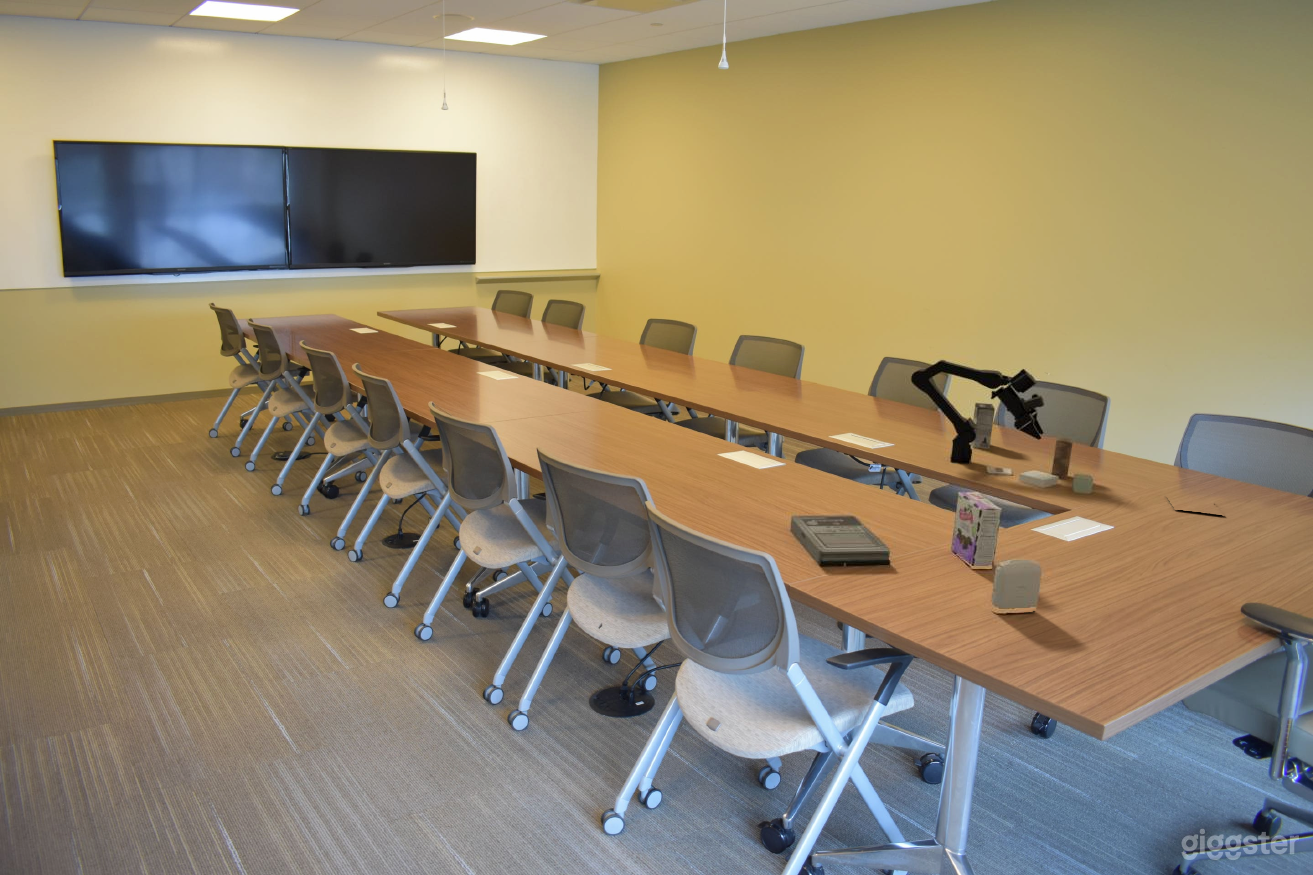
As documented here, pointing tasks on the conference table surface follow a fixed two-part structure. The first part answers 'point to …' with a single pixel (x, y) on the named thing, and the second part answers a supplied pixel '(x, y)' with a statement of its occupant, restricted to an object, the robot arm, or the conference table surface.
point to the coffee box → (983, 424)
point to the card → (999, 470)
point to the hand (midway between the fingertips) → (1041, 436)
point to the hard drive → (839, 541)
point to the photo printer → (1016, 584)
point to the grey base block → (1038, 478)
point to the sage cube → (1082, 483)
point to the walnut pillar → (1062, 457)
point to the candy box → (976, 529)
